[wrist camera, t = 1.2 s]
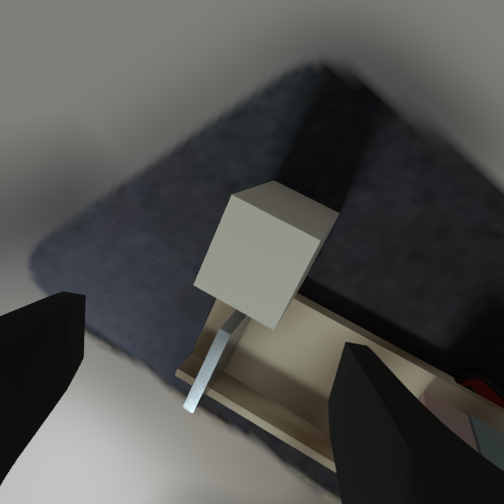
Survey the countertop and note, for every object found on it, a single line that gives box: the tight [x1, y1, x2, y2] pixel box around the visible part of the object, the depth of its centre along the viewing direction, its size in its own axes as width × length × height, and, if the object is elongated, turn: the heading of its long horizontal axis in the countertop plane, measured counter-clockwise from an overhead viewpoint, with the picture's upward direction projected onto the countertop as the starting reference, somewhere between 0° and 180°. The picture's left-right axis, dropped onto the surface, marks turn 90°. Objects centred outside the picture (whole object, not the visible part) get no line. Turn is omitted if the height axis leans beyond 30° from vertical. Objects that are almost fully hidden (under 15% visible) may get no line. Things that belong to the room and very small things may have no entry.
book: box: [194, 181, 339, 330], centre depth 21 cm, size 4×4×7 cm
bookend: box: [183, 310, 251, 413], centre depth 23 cm, size 1×5×5 cm, turn 156°
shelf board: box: [175, 293, 504, 472], centre depth 24 cm, size 18×7×3 cm, turn 66°
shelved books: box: [418, 391, 504, 471], centre depth 21 cm, size 5×5×5 cm
